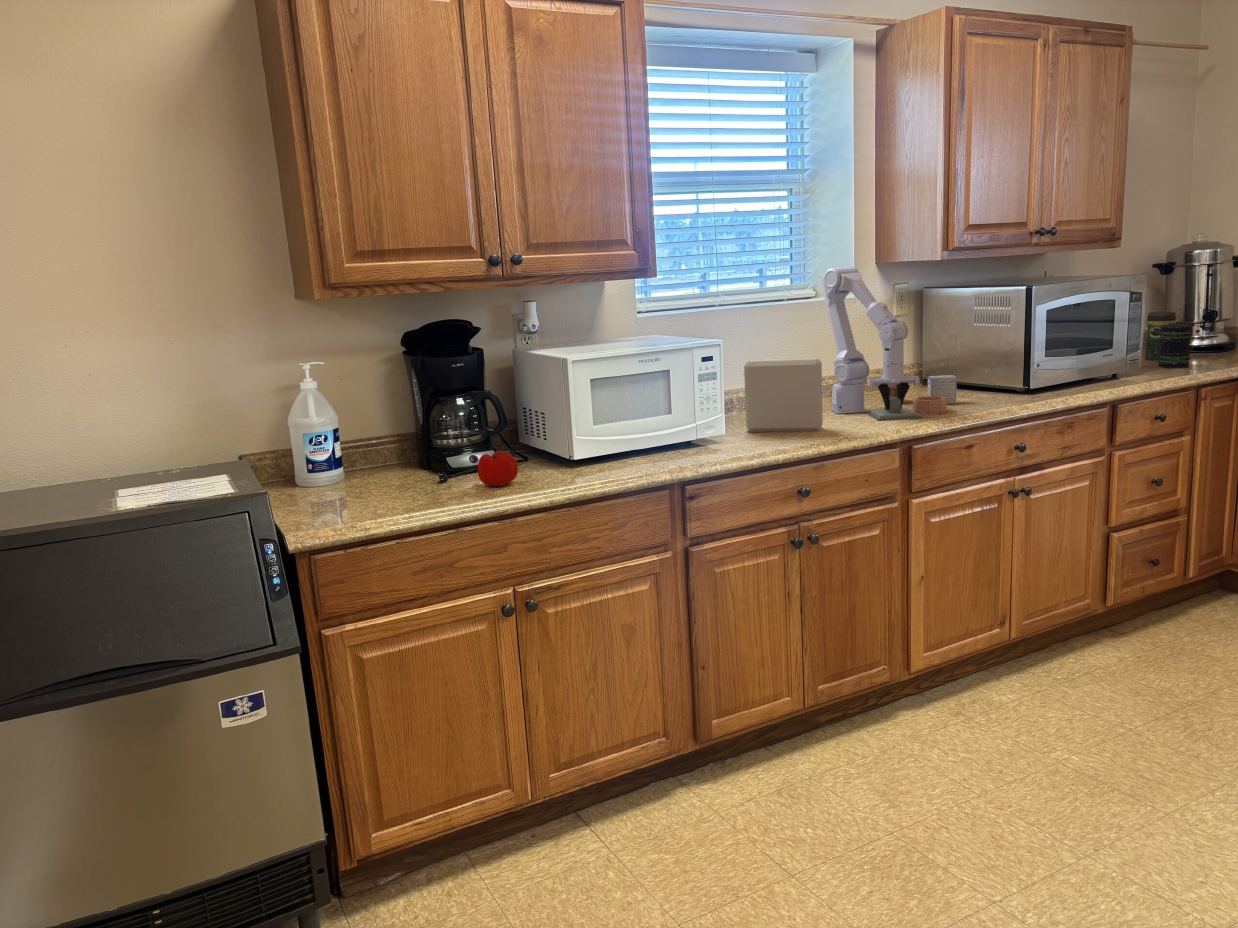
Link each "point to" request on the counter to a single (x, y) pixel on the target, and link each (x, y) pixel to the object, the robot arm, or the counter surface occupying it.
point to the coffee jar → (1157, 331)
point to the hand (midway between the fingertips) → (893, 409)
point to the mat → (892, 418)
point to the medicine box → (943, 387)
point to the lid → (894, 410)
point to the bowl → (930, 404)
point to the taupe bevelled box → (783, 395)
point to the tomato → (497, 468)
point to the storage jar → (1174, 346)
